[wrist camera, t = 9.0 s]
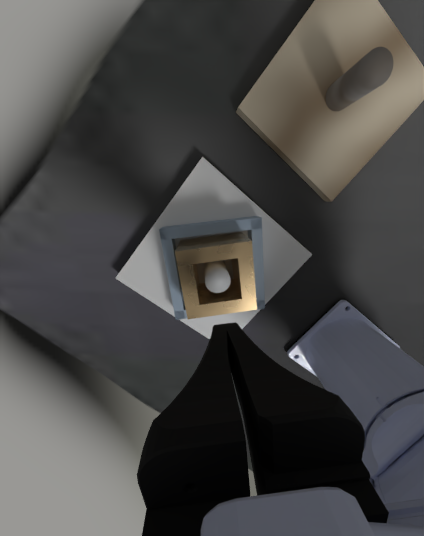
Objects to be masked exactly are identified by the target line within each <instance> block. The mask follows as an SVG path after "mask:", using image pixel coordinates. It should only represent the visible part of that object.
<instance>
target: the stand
mask: <svg viewBox="0 0 424 536" xmlns="http://www.w3.org/2000/svg"><path fill="white" fill-rule="evenodd" d="M423 100H424V67H423V65H422V64H421V62H420V61H419V59H418V58H417V56H416V55H415V53H414V52H413V51H412V49H411V48H410V46H409V45H408V43H407V42H406V40H405V39H404V38H403V36H402V35H401V33H400V32H399V30H398V29H397V27H396V26H395V25H394V23H393V22H392V20H391V19H390V17H389V16H388V14H387V13H386V12H385V10H384V9H383V7H382V6H381V4H380V3H379V1H378V0H315V1H314V2H313V4H312V5H311V6H310V8H309V9H308V10H307V12H306V13H305V15H304V16H303V17H302V19H301V20H300V22H299V23H298V24H297V26H296V27H295V29H294V30H293V31H292V33H291V34H290V36H289V37H288V38H287V40H286V41H285V43H284V44H283V45H282V47H281V48H280V50H279V51H278V52H277V54H276V55H275V56H274V58H273V59H272V61H271V62H270V63H269V65H268V66H267V68H266V69H265V70H264V72H263V73H262V75H261V76H260V77H259V79H258V80H257V82H256V83H255V84H254V86H253V87H252V89H251V90H250V91H249V93H248V94H247V95H246V97H245V98H244V100H243V101H242V102H241V104H240V105H239V107H238V109H237V111H236V113H237V114H238V115H239V116H240V117H241V118H242V119H243V120H244V121H245V122H246V123H247V124H248V125H249V126H250V127H251V128H252V129H253V130H254V131H255V132H256V133H257V134H258V135H259V136H260V137H261V138H262V139H263V140H264V141H265V142H266V143H267V144H268V145H269V146H270V147H271V148H272V149H273V150H274V151H275V152H276V153H277V154H278V155H279V156H280V157H281V158H282V159H283V160H284V161H285V162H286V163H287V164H288V165H289V166H290V167H291V168H292V169H293V170H294V171H295V172H296V173H297V174H298V175H299V176H300V177H301V178H302V179H303V180H304V181H305V182H306V183H307V184H308V185H309V186H310V187H311V188H312V189H313V190H314V191H315V192H316V193H317V194H318V195H319V196H320V197H321V198H322V199H323V200H324V201H333V200H334V198H335V197H336V196H337V195H338V194H339V193H340V192H341V191H342V190H343V189H344V187H345V186H346V185H347V184H348V183H349V182H350V181H351V180H352V179H353V178H354V176H355V175H356V174H357V173H358V172H359V171H360V170H361V169H362V168H363V167H364V165H365V164H366V163H367V162H368V161H369V160H370V159H371V158H372V157H373V156H374V154H375V153H376V152H377V151H378V150H379V149H380V148H381V147H382V146H383V144H384V143H385V142H386V141H387V140H388V139H389V138H390V137H391V136H392V135H393V133H394V132H395V131H396V130H397V129H398V128H399V127H400V126H401V125H402V124H403V122H404V121H405V120H406V119H407V118H408V117H409V116H410V115H411V114H412V113H413V111H414V110H415V109H416V108H417V107H418V106H419V105H420V104H421V103H422V102H423Z"/></svg>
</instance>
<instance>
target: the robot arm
mask: <svg viewBox="0 0 424 536" xmlns="http://www.w3.org/2000/svg"><path fill="white" fill-rule="evenodd" d="M347 306H348V307H347ZM346 307H347V308H346ZM345 308H346V309H345ZM287 354H288V356H289V357H290V358H291V359H293V360H294V361H296V362H297V363H298V364H300V365H301V366H303V367H304V368H306V369H307V370H308V371H310V372H311V373H313V374H314V375H315V376H317V377H318V379H319V380H320V382H321V383H322V385H323V386H324V388H325V389H326V390H325V389H322V388H320V387H318V386H315V385H313V384H311V383H309V382H307V381H306V380H304V379H302V378H300V377H298V376H296V375H295V374H293V373H291V372H290V371H288V370H287V369H285V368H283V367H282V366H280V365H279V364H278V363H276V362H275V361H274V360H272V359H271V358H270V357H269V356H267V355H266V354H265V353H264V352H263V351H262V350H261V349H260V348H258V347H257V346H256V345H255V344H254V342H253V341H252V340H251V339H250V338H249V337H248V336H247V335H246V334H245V333H244V331H243V330H242V329H241V328H240V326H239V325H238V324H237V323H236V322H234V323H226V324H218V325H214V326H213V328H212V334H211V338H210V341H209V343H208V346H207V349H206V351H205V353H204V355H203V358H202V360H201V362H200V364H199V365H198V367H197V369H196V371H195V372H194V374H193V375H192V377H191V378H190V380H189V381H188V383H187V384H186V386H185V387H184V388H183V390H182V391H181V392H180V393H179V394H178V396H177V397H176V398H175V399H174V400H173V401H172V403H171V404H170V405H169V406H168V407H167V408H166V409H165V410H164V411H163V412H162V413H161V414H160V415H159V416H158V417H157V418H155V419H154V420H153V422H152V425H151V427H150V430H149V432H148V435H147V438H146V441H145V444H144V447H143V451H142V455H141V459H140V464H139V469H138V473H137V479H138V484H139V487H140V490H141V493H142V496H143V499H144V502H145V505H146V508H147V510H146V516H145V522H144V527H143V533H142V536H424V366H423V365H421V364H420V363H419V362H417V361H416V360H415V359H413V358H412V357H411V356H409V355H408V354H407V353H405V352H404V351H403V350H401V349H400V347H399V346H398V345H397V344H396V343H395V342H394V341H393V340H392V339H390V338H389V337H388V336H387V335H386V334H385V333H383V332H382V331H381V330H380V329H379V328H378V327H376V326H375V325H374V324H373V323H372V322H371V321H370V320H368V319H367V318H366V317H365V316H364V315H363V314H361V313H360V312H359V311H358V310H357V309H356V308H355V307H353V306H352V305H351V304H350V303H349V302H347V301H346V300H340V301H339V302H338V303H337V304H336V305H335V306H334V307H333V308H332V309H330V310H329V311H328V312H327V313H326V314H325V315H324V316H323V317H322V318H321V319H320V320H319V321H318V322H317V323H316V324H315V325H314V326H313V327H312V328H311V329H310V330H309V331H308V332H307V333H306V334H304V335H303V336H302V337H301V338H300V339H299V340H298V341H297V342H296V343H295V344H294V345H293V346H292V347H291V348H290V349H289V350H288V351H287ZM295 355H297V356H295ZM231 373H232V375H231ZM232 377H233V380H234V384H235V388H236V391H237V395H238V399H239V402H240V406H241V410H242V414H243V418H244V423H245V429H246V434H247V440H248V445H249V451H250V457H251V462H252V468H253V473H254V479H255V485H256V491H257V496H251V497H250V486H249V474H248V462H247V451H246V440H245V434H244V428H243V423H242V418H241V414H240V411H239V406H238V402H237V398H236V394H235V389H234V385H233V380H232ZM363 449H364V451H363Z"/></svg>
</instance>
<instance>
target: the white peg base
mask: <svg viewBox="0 0 424 536" xmlns="http://www.w3.org/2000/svg"><path fill="white" fill-rule="evenodd" d="M236 232H242V233H243V234H244V235H245V236H247V237H248V238H249V239H250V240H252V247H253V261H254V275H255V288H256V302H257V310H251V311H244V312H237V313H230V314H223V315H216V316H209V317H202V318H195V319H187V313H186V308H185V303H184V298H183V292H182V287H181V282H180V276H179V271H178V266H177V261H176V255H175V250H176V248H177V246H178V244H179V242H180V240H185V239H193V238H200V237H207V236H214V235H221V234H229V233H236ZM311 256H312V254H311V253H310V252H309V251H308V250H307V249H306V248H304V247H303V246H302V245H301V244H300V243H299V242H298V241H297V240H295V239H294V238H293V237H292V236H291V235H290V234H289V233H288V232H287V231H285V230H284V229H283V228H282V227H281V226H280V225H279V224H278V223H276V222H275V221H274V220H273V219H272V218H271V217H270V216H269V215H267V214H266V213H265V212H264V211H263V210H262V209H261V208H260V207H258V206H257V205H256V204H255V203H254V202H253V201H252V200H251V199H249V198H248V197H247V196H246V195H245V194H244V193H243V192H242V191H241V190H239V189H238V188H237V187H236V186H235V185H234V184H233V183H232V182H230V181H229V180H228V179H227V178H226V177H225V176H224V175H223V174H221V173H220V172H219V171H218V170H217V169H216V168H215V167H214V166H212V165H211V164H210V163H209V162H208V161H207V160H206V159H205V158H203V157H202V158H201V160H200V161H199V162H198V164H197V165H196V167H195V168H194V169H193V171H192V172H191V174H190V175H189V176H188V178H187V179H186V181H185V182H184V183H183V185H182V186H181V187H180V189H179V190H178V192H177V193H176V194H175V196H174V197H173V199H172V200H171V201H170V203H169V204H168V206H167V207H166V208H165V210H164V211H163V213H162V214H161V215H160V217H159V218H158V220H157V221H156V222H155V224H154V225H153V226H152V228H151V229H150V231H149V232H148V233H147V235H146V236H145V238H144V239H143V240H142V242H141V243H140V245H139V246H138V247H137V249H136V250H135V252H134V253H133V254H132V256H131V257H130V259H129V260H128V261H127V263H126V264H125V266H124V267H123V268H122V270H121V271H120V272H119V274H118V275H117V277H116V279H117V280H119V281H121V282H122V283H124V284H125V285H127V286H128V287H130V288H131V289H133V290H134V291H136V292H137V293H139V294H141V295H142V296H144V297H145V298H147V299H148V300H150V301H151V302H153V303H154V304H156V305H157V306H159V307H161V308H162V309H164V310H165V311H167V312H168V313H170V314H171V315H173V316H174V317H175V319H176V320H178V319H179V320H181V321H182V322H184V323H185V324H187V325H188V326H190V327H191V328H193V329H194V330H196V331H197V332H199V333H201V334H202V335H204V336H205V337H207V338H208V339H210V338H211V334H212V328H213V326H214V325H218V324H226V323H234V322H236V323H237V324H238V325H239V326H240V328H241V329H243V328H244V327H245V326H246V324H247V323H248V322H249V321H250V320H251V319H252V318H253V317H254V316H255V315H256V314H257V313H258V312H259V311H260V310H261V309H265V304H266V303H267V302H268V301H269V300H270V299H271V298H272V297H273V296H274V295H275V294H276V293H277V292H278V291H279V289H280V288H281V287H282V286H283V285H284V284H285V283H286V282H287V281H288V280H289V279H290V278H291V277H292V276H293V275H294V274H295V273H296V271H297V270H298V269H299V268H300V267H301V266H302V265H303V264H304V263H305V262H306V261H307V260H308V259H309V258H310V257H311ZM197 270H198V276H199V283H205V285H206V287H207V288H208V289H209V290H210V291H211V292H214V293H221V292H224V291H225V290H227V289H228V287H229V286H230V282H231V279H234V278H233V268H232V259H227V260H220V261H213V262H206V263H199V264H197Z"/></svg>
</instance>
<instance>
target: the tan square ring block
mask: <svg viewBox="0 0 424 536" xmlns="http://www.w3.org/2000/svg"><path fill="white" fill-rule="evenodd" d="M175 255H176V261H177V266H178V271H179V276H180V282H181V287H182V292H183V298H184V303H185V308H186V313H187V319H195V318H202V317H209V316H216V315H223V314H230V313H237V312H244V311H251V310H257V302H256V288H255V275H254V261H253V247H252V240H250V239H249V238H248V237H247V236H245V235H244V234H243V233H242V232H236V233H229V234H221V235H214V236H207V237H200V238H193V239H185V240H180V242H179V244H178V246H177V248H176V250H175ZM227 259H232V268H233V278H234V279H231V282H230V286H229V287H228V289H227V290H225V291H224V292H221V293H214V292H211V291H210V290H209V289H208V288H207V287H206V285H205V283H199V276H198V270H197V264H199V263H206V262H213V261H220V260H227Z"/></svg>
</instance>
